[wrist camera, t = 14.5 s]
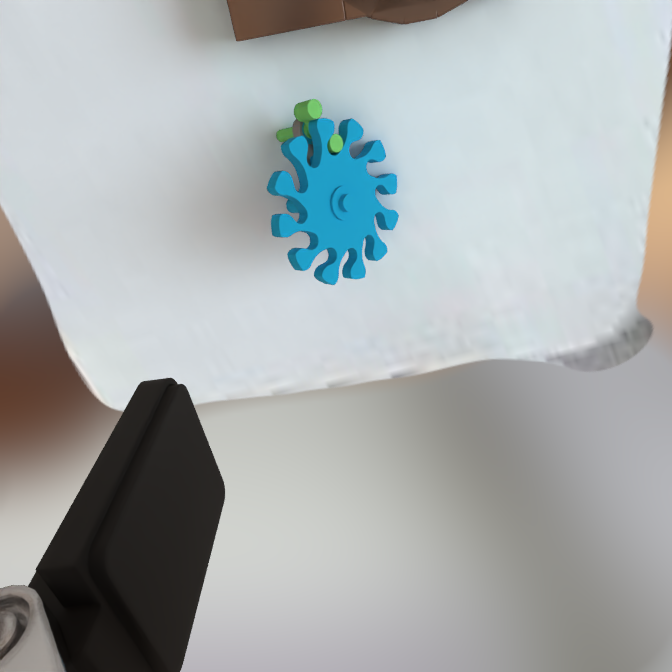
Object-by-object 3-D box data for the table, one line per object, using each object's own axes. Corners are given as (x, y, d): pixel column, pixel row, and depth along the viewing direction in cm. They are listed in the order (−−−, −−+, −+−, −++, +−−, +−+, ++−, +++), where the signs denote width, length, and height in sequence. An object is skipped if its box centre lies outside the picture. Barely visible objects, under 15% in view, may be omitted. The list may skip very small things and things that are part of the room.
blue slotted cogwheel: (416, 254, 37) (307, 310, 31) (358, 250, 41) (253, 300, 36) (386, 81, 33) (254, 112, 27) (325, 98, 37) (200, 128, 31)
